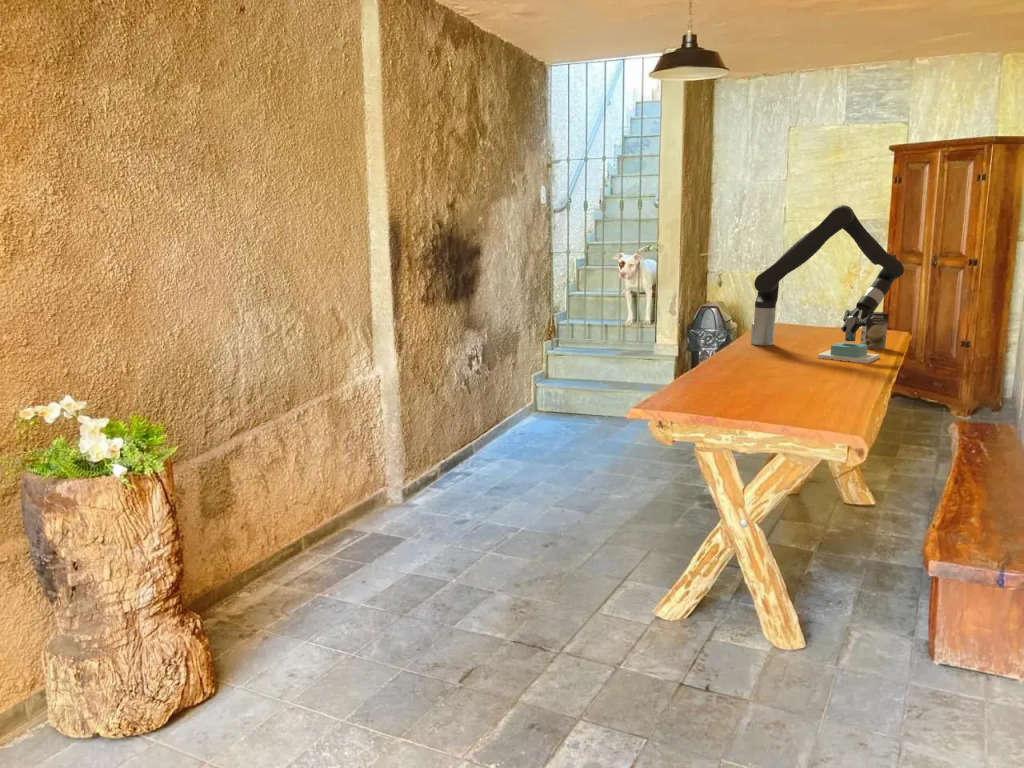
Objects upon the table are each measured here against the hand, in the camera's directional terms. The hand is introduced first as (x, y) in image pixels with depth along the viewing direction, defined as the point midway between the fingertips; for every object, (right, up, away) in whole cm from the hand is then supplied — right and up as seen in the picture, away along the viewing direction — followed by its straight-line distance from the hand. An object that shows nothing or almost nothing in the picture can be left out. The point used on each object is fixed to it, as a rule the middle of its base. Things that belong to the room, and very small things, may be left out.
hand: (847, 331), depth 334 cm
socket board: (+2, -11, +3) cm, 12 cm away
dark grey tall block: (+2, -4, +2) cm, 4 cm away
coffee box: (+23, -6, +27) cm, 36 cm away
